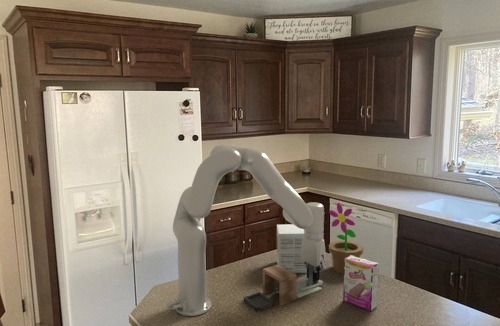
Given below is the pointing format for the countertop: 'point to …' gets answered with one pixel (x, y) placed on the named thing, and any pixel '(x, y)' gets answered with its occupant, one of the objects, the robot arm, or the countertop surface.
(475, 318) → the countertop surface
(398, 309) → the countertop surface
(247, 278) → the countertop surface
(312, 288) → the board
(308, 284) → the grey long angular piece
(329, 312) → the countertop surface
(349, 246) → the flowerpot
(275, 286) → the tunnel
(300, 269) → the supplement box
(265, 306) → the tray
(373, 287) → the candy bar box
